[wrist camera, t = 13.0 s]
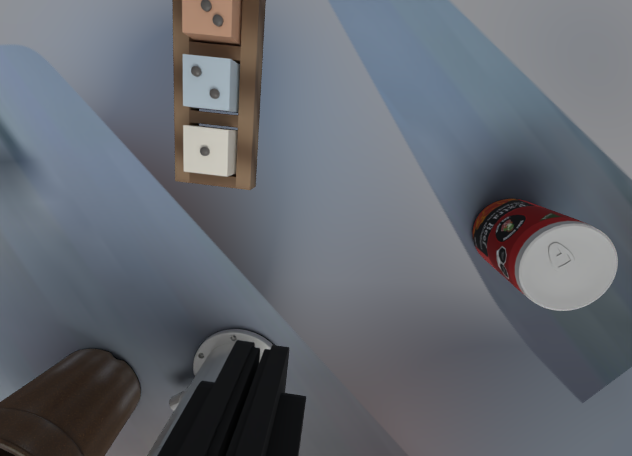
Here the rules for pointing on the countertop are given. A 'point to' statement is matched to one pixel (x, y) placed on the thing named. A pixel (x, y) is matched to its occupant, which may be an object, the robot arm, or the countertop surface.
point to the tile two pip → (211, 83)
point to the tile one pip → (209, 150)
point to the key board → (248, 95)
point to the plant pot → (70, 407)
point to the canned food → (546, 253)
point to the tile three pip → (213, 21)
